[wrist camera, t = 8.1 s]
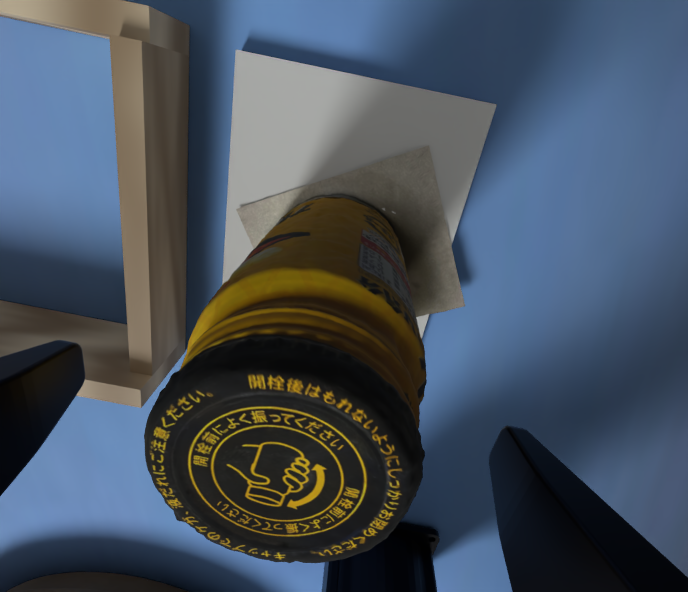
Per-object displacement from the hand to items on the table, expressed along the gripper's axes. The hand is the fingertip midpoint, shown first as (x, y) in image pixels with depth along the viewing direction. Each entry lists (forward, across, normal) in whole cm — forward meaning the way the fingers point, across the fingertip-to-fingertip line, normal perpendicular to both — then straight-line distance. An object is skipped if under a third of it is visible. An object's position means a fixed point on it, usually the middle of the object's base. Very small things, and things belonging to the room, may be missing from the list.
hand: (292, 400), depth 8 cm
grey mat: (+11, 0, 0) cm, 11 cm away
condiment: (+10, -1, 0) cm, 11 cm away
